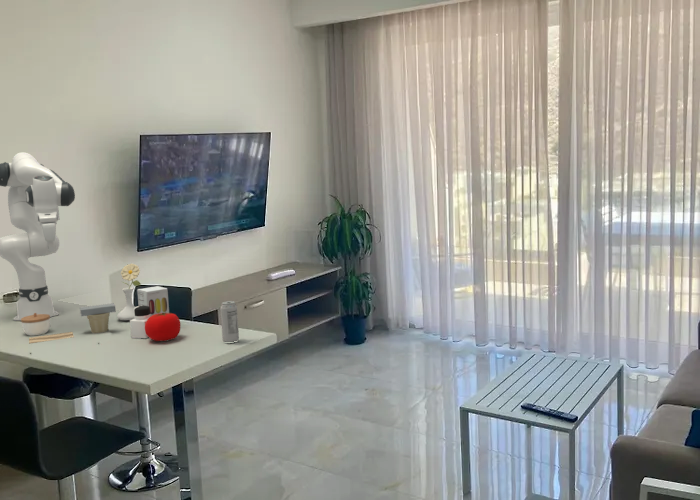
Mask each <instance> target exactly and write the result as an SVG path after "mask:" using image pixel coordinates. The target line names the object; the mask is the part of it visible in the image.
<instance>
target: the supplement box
mask: <svg viewBox="0 0 700 500" xmlns="http://www.w3.org/2000/svg"><path fill="white" fill-rule="evenodd" d="M137 302H138V306H149V307H150V317H151V316H152V315H155V314H159V313H170V307H169V306H170V305H169V292H168V288H167V287H163V286H159V285H156V286H151V287H145V288H137Z"/></svg>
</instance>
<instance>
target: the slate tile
mask: <svg viewBox="0 0 700 500" xmlns="http://www.w3.org/2000/svg"><path fill="white" fill-rule="evenodd" d="M116 312H117V311H116V305H115V304H114V302H112V303H103V304H98V305H97V304H96V305H89V306H81V307H79V314H80V317H87V316H88V315H95V314H103V313H116Z"/></svg>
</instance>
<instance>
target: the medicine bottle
mask: <svg viewBox="0 0 700 500" xmlns="http://www.w3.org/2000/svg"><path fill="white" fill-rule="evenodd" d="M134 317H135V319H132V320H129V326H130V327H129V328H130V335H131V336H130V337H131V339H141V338H147V339H149V338H148V336H147V335H146V332H145V324H146V321H147V320H148V318H149V317H150V307H149V306H139V305H138V306H135V308H134Z"/></svg>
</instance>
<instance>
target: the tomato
mask: <svg viewBox="0 0 700 500" xmlns="http://www.w3.org/2000/svg"><path fill="white" fill-rule="evenodd" d="M145 332H146V335H147V336H148V337H149V338H148V339H151V340H153V341H155V342H167V340H168V341H171V340H174V339H176V338H177V337H178V336H179V334H180V332H181V321H180V318H179V317H178V316H177V314H176V313H172V312H169V313H159V314H155V315H152V316H151V317H149V318H148V320H147V321H146V324H145Z"/></svg>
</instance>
